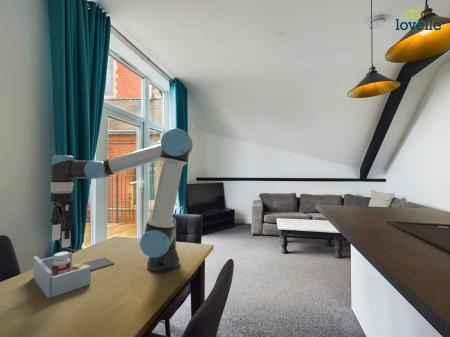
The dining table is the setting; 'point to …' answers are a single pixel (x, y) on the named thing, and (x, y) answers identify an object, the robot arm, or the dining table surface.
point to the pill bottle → (60, 263)
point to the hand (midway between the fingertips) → (60, 243)
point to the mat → (99, 263)
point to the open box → (59, 277)
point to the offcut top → (79, 266)
